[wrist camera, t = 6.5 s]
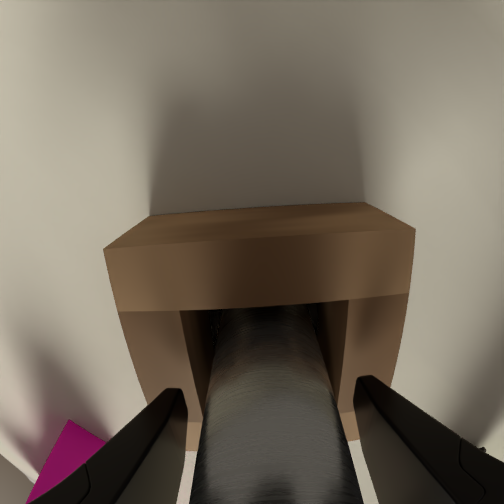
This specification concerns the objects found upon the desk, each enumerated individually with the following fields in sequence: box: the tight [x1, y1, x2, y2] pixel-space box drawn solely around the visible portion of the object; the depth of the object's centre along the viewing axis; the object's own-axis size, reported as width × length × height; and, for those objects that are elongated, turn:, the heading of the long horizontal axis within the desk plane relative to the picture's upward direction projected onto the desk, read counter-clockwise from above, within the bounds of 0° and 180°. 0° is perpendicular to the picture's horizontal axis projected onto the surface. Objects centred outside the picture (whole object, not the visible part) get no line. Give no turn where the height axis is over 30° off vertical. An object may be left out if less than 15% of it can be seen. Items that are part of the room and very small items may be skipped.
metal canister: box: [189, 304, 364, 504], centre depth 8 cm, size 3×3×10 cm
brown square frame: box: [103, 202, 416, 451], centre depth 11 cm, size 8×8×4 cm
